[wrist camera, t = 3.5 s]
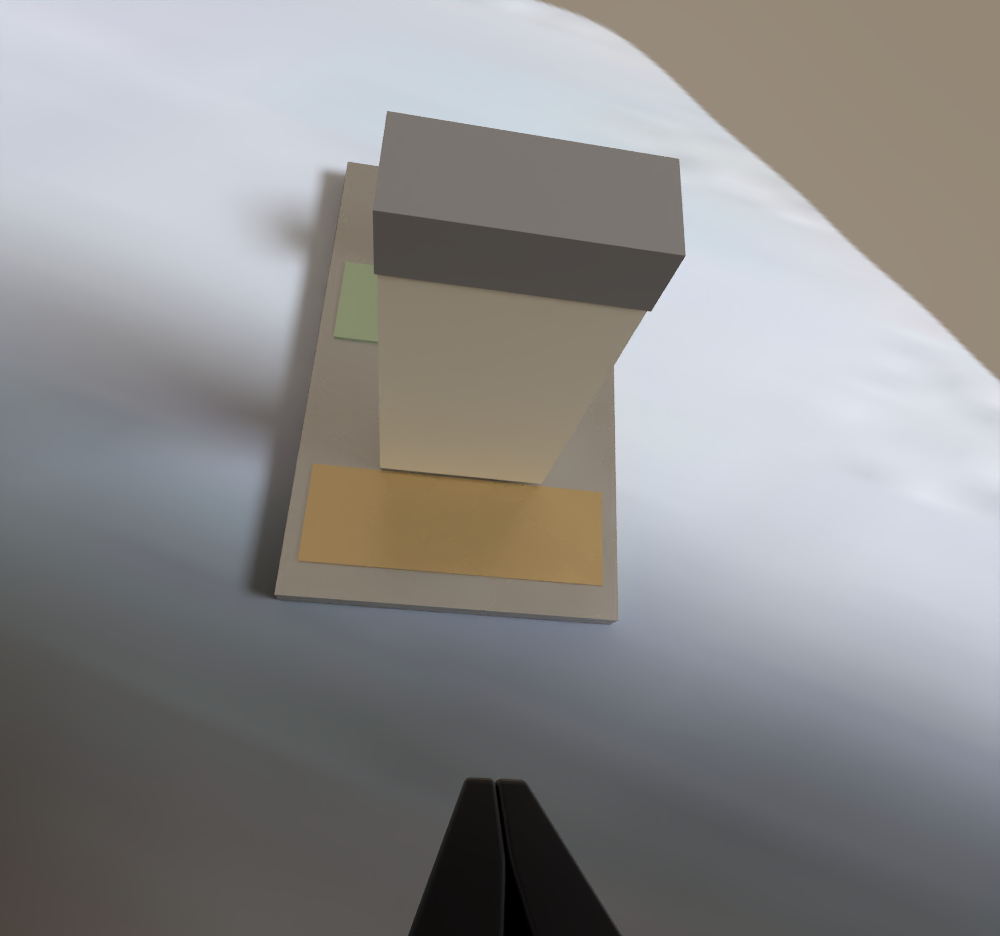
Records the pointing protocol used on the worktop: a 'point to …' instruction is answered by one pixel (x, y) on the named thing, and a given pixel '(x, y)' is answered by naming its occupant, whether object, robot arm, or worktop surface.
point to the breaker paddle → (508, 288)
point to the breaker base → (434, 487)
